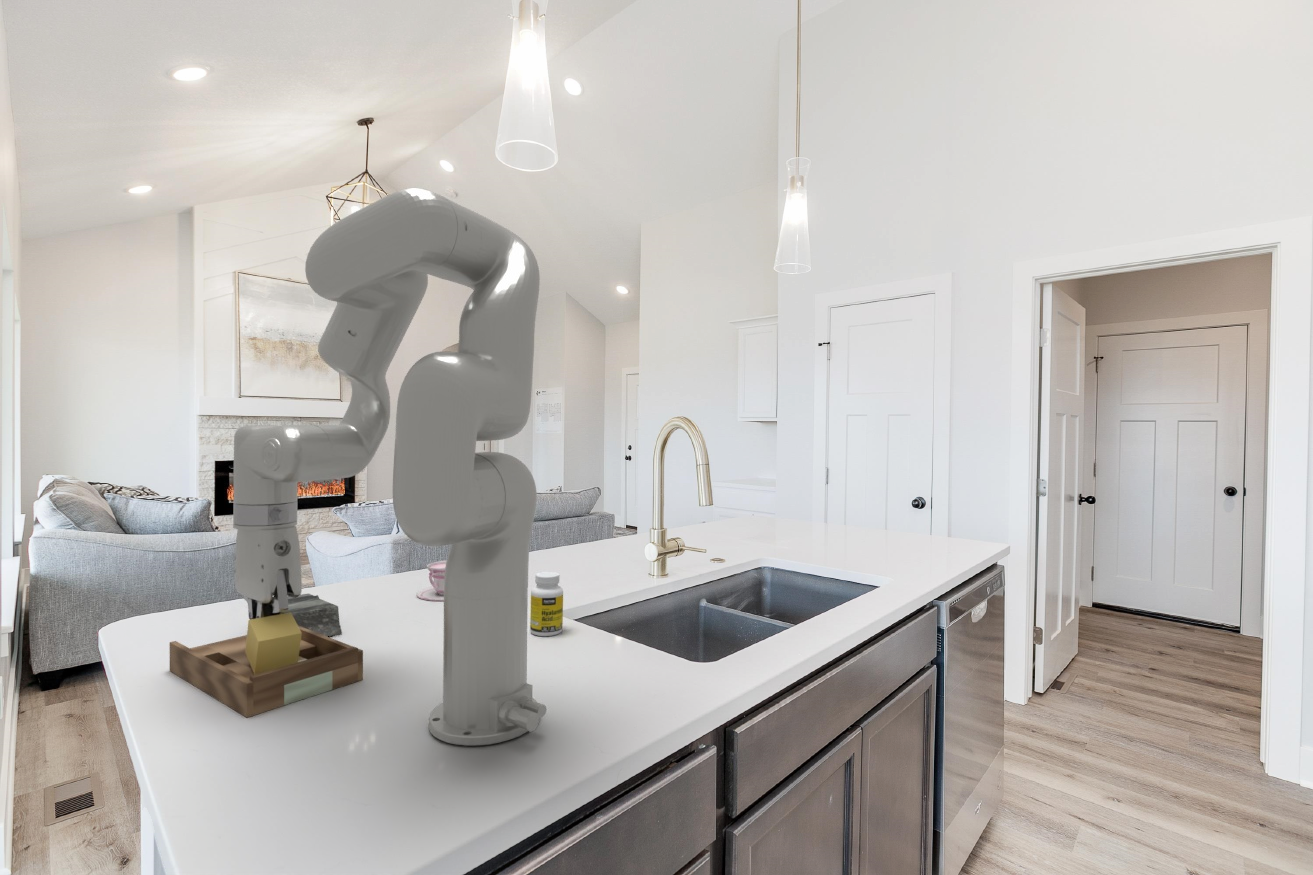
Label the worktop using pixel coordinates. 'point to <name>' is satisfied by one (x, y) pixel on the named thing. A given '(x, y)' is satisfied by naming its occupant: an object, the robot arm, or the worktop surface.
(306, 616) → the stone block
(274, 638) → the block
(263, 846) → the worktop surface
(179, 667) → the box
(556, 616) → the supplement bottle
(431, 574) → the teacup
